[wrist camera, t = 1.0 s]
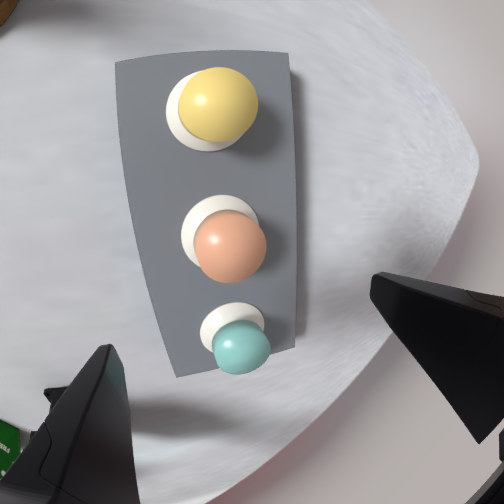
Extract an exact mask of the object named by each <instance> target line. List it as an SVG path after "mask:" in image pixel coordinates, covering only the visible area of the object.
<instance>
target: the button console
mask: <svg viewBox="0 0 504 504" xmlns="http://www.w3.org/2000/svg"><path fill="white" fill-rule="evenodd" d="M214 67H224V68H229V69H233V70H235V71H238V72H239V73H241V74H242V75H244V76H245V77H246V78H247V79H248V80H249V81H250V82H251V83H252V85H253V87H254V88H255V91H256V93H257V97H258V111H257V115H256V118H255V120H254V122H253V124H252V125H251V126H250V128H249V129H248V130H247V131H246V132H245V133H243V134H242V135H240V136H239V137H237V138H234V139H232V140H228V141H219V142H211V141H204V140H201V139H198V138H196V137H194V136H193V135H191V134H190V133H189V132H188V131H187V130H186V129H185V128H184V127H183V125H182V124H181V121H180V119H179V116H178V101H179V97H180V95H181V93H182V91H183V89H184V87H185V85H186V84H187V82H188V81H189V80H190V79H191V78H192V77H193V76H194V75H196V74H197V73H199V72H201V71H203V70H206V69H209V68H214ZM115 78H116V100H117V115H118V127H119V137H120V146H121V155H122V163H123V170H124V177H125V183H126V190H127V196H128V202H129V207H130V213H131V218H132V223H133V228H134V233H135V238H136V242H137V247H138V251H139V256H140V260H141V264H142V268H143V272H144V276H145V280H146V284H147V287H148V291H149V295H150V298H151V302H152V305H153V309H154V312H155V316H156V319H157V322H158V326H159V329H160V332H161V335H162V338H163V341H164V344H165V347H166V350H167V353H168V356H169V359H170V362H171V364H172V367H173V370H174V373H175V375H176V378H177V377H182V376H187V375H192V374H196V373H201V372H205V371H210V370H214V369H218V368H219V366H218V364H217V362H216V359H215V356H214V353H213V350H212V339H213V337H214V335H215V333H216V332H217V331H218V330H219V329H220V328H221V327H222V326H224V325H225V324H227V323H229V322H232V321H235V320H250V321H253V322H255V323H257V324H258V325H259V326H260V327H261V329H262V331H263V332H264V334H265V336H266V337H267V339H268V341H269V343H270V347H271V350H270V354H269V355H271V354H274V353H277V352H281V351H284V350H287V349H290V348H293V347H295V327H296V283H297V218H296V174H295V147H294V127H293V109H292V94H291V80H290V67H289V56H288V53H282V52H268V51H244V50H220V51H196V52H183V53H172V54H163V55H155V56H148V57H142V58H136V59H130V60H125V61H120V62H115ZM225 209H232V210H236V211H240V212H242V213H244V214H245V215H247V216H248V217H249V218H250V219H251V220H252V221H254V222H255V223H256V224H257V225H258V226H259V227H260V228H261V230H262V231H263V233H264V236H265V239H266V254H265V258H264V260H263V262H262V264H261V266H260V267H259V268H258V269H257V271H256V272H255V273H253V274H252V275H251V276H250V277H248V278H246V279H244V280H242V281H239V282H235V283H222V282H218V281H215V280H213V279H211V278H210V277H208V276H207V275H206V274H205V273H204V272H203V270H202V269H201V267H200V265H199V262H198V260H197V257H196V254H195V251H194V246H193V240H194V235H195V232H196V229H197V227H198V226H199V224H200V223H201V222H202V221H203V220H204V219H205V218H206V217H207V216H208V215H210V214H212V213H214V212H216V211H219V210H225Z"/></svg>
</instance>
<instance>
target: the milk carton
mask: <svg viewBox="0 0 504 504" xmlns="http://www.w3.org/2000/svg"><path fill="white" fill-rule="evenodd" d="M20 454H21V447H20V439H19V430H18V429H17V428H14V427H12V426H10V425H8V424H6V423H4V422H2V421H0V479H1V478H2V477H3V476H4V474H5V473H6V472H7V470H8V469H9V468H10V467H11V465H12V464H13V463H14V461H15V460H16V459H17V458H18V456H19V455H20Z"/></svg>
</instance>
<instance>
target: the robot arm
mask: <svg viewBox="0 0 504 504" xmlns="http://www.w3.org/2000/svg"><path fill="white" fill-rule="evenodd" d="M370 299H371V301H372V302H373V303H374V305H375V306H376V308H377V309H378V311H379V312H380V314H381V315H382V316H383V318H384V319H385V321H386V322H387V324H388V325H389V327H390V328H391V329H392V331H393V332H394V333H395V334H396V336H397V337H398V338H399V339H400V341H401V342H402V343H403V344H404V345H405V347H406V348H407V349H408V350H409V352H411V354H412V355H413V357H414V358H415V359H416V360H417V362H418V363H419V364H420V365H421V367H422V368H423V369H424V370H425V372H426V373H427V374H428V376H429V377H430V378H431V379H432V381H433V382H434V383H435V385H436V386H437V387H438V388H439V390H440V391H441V393H442V394H443V395H444V396H445V398H446V399H447V401H448V402H449V403H450V405H451V406H452V408H453V409H454V410H455V412H456V413H457V415H458V416H459V417H460V419H461V420H462V421H463V423H464V425H465V426H466V427H467V428H468V430H469V432H470V433H471V434H472V436H473V438H474V439H475V440H476V442H477V443H478V444H480V443H481V442H482V441H483V440H484V439H485V438H486V437H487V436H488V435H489V434H490V433H491V432H492V431H493V430H494V429H495V427H496V426H497V425H498V424H499V423H500V422H501V421H502V419H503V418H504V297H501V296H495V295H489V294H483V293H478V292H474V291H469V290H464V289H460V288H455V287H451V286H446V285H441V284H437V283H432V282H428V281H423V280H419V279H414V278H409V277H405V276H400V275H395V274H391V273H386V272H380V273H377V274H374V275H373V277H372V280H371V287H370ZM44 395H45V396H46V398H47V399H48V400H49V402H50V403H51V405H50V410H49V415H48V416H47V417H46V419H45V422H43V423H42V425H41V426H40V428H39V429H38V431H31V435H30V441H29V443H28V445H27V446H26V447H25V449H24V450H23V451H22V452H21V454H20V455H19V456H18V458H17V459H16V460H15V461H14V463H13V464H12V465H11V467H10V468H9V469H8V470H7V472H6V473H5V474H4V476H3V477H2V478H1V479H0V504H140V500H139V494H138V487H137V481H136V473H135V465H134V457H133V447H132V435H131V420H130V409H129V402H128V396H127V389H126V382H125V374H124V367H123V364H122V362H121V360H120V358H119V356H118V354H117V352H116V350H115V348H114V346H113V345H112V344H107V345H101V346H99V347H98V348H97V350H96V351H95V352H94V354H93V355H92V356H91V357H90V359H89V360H88V361H87V363H86V364H85V365H84V367H83V368H82V369H81V370H80V372H79V373H78V374H77V376H76V377H75V378H74V380H73V381H72V383H71V384H70V385H69V387H68V388H54V389H45V390H44ZM499 459H500V460H501V461H502V463H501V464H500V466H499V467H498V468H497V469H496V471H495V472H494V473H493V474H492V475H491V477H490V478H489V479H488V480H487V481H486V482H485V483H484V484H483V486H482V487H481V488H480V489H479V490H478V491H477V492H476V493H475V494H474V495H473V496H472V497H471V498H470V499H469V500H468V501H467V502H466V503H465V504H504V428H503V430H502V431H501V432H500V434H499Z"/></svg>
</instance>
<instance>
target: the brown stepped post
mask: <svg viewBox="0 0 504 504" xmlns="http://www.w3.org/2000/svg"><path fill="white" fill-rule="evenodd" d="M18 1H19V0H0V26H1V25H2V23H3V22H4V21H5V20H6V19H7V18H8V16H9V15H10V14H11V12H12V11H13V10H14V8H15V6H16V5H17V3H18Z"/></svg>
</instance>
